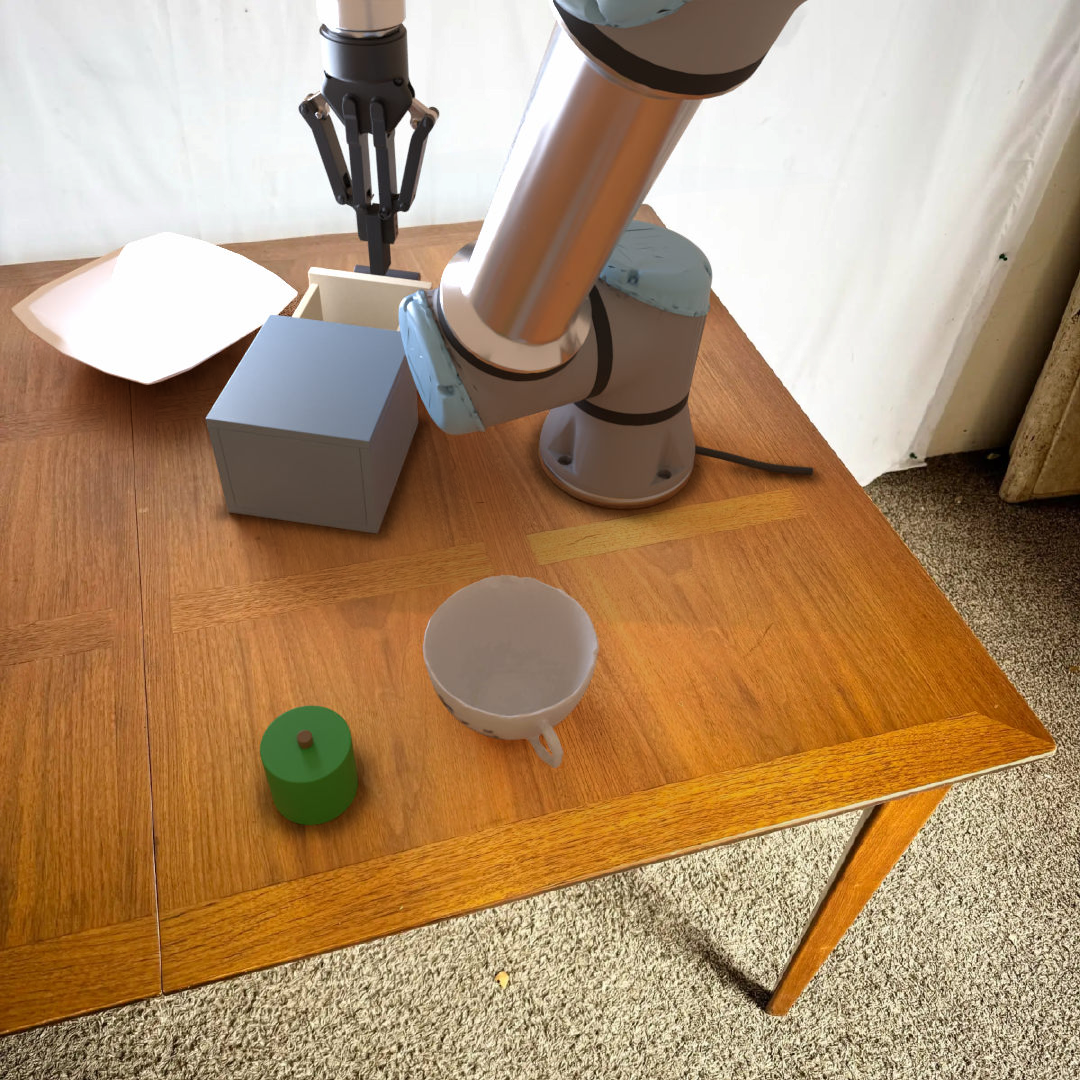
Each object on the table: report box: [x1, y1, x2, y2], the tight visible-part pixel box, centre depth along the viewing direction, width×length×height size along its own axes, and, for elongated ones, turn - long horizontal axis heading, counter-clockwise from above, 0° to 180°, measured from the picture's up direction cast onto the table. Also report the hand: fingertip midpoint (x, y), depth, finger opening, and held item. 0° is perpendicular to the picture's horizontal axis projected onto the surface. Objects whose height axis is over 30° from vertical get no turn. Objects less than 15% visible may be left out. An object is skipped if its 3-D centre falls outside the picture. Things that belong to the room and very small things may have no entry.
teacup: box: [422, 574, 600, 769], centre depth 71 cm, size 15×12×8 cm
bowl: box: [11, 231, 299, 386], centre depth 101 cm, size 22×23×6 cm
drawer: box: [291, 264, 434, 331], centre depth 98 cm, size 21×13×9 cm, turn 172°
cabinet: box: [205, 314, 419, 534], centre depth 88 cm, size 16×14×11 cm
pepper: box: [259, 705, 359, 826], centre depth 66 cm, size 6×6×7 cm
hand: (380, 268), depth 100 cm, fingers closed
